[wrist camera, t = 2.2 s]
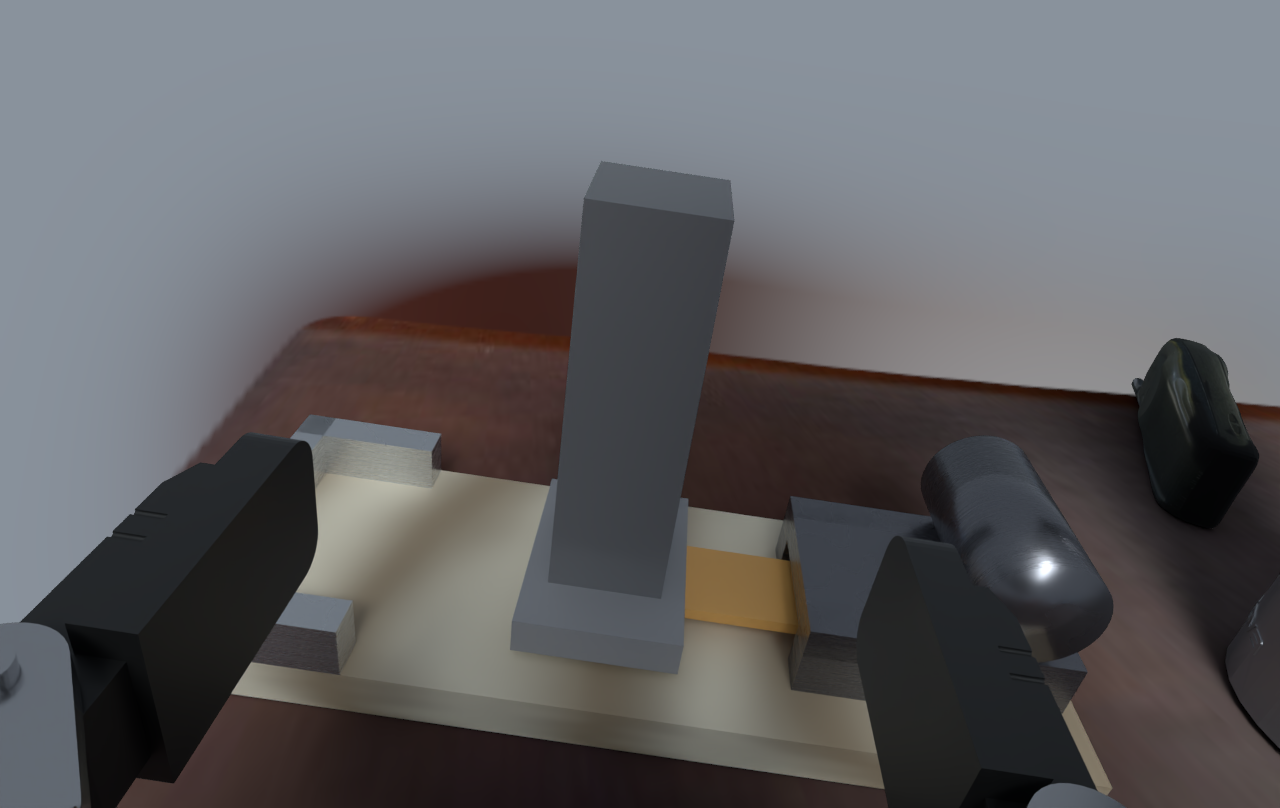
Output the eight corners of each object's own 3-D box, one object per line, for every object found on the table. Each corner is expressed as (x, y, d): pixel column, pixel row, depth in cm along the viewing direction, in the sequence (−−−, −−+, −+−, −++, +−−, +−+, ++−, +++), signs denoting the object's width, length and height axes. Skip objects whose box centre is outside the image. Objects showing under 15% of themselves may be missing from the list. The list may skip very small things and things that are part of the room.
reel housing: (989, 580, 30) (1053, 445, 27) (1053, 728, 24) (1144, 578, 21) (775, 549, 30) (814, 410, 27) (791, 690, 24) (843, 534, 21)
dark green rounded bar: (1281, 457, 34) (1210, 325, 47) (1204, 436, 35) (1154, 311, 47) (1222, 543, 37) (1170, 397, 49) (1151, 522, 38) (1117, 383, 50)
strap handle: (1002, 571, 30) (1167, 229, 23) (1077, 732, 24) (1330, 334, 17) (549, 504, 30) (582, 142, 23) (510, 649, 24) (538, 216, 17)
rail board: (986, 581, 32) (1000, 552, 31) (1090, 819, 23) (1112, 788, 23) (311, 481, 32) (308, 450, 31) (165, 683, 23) (156, 648, 22)
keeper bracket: (441, 470, 31) (441, 433, 30) (339, 675, 23) (335, 632, 22) (313, 451, 31) (309, 414, 30) (163, 649, 22) (152, 605, 22)
